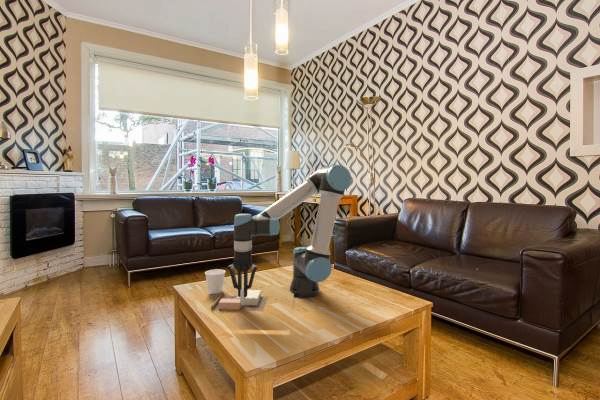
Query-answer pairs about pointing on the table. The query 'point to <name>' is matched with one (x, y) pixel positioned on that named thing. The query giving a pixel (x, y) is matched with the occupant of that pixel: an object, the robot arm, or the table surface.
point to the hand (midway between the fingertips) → (242, 304)
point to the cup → (215, 280)
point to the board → (257, 307)
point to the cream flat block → (252, 297)
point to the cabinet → (230, 303)
